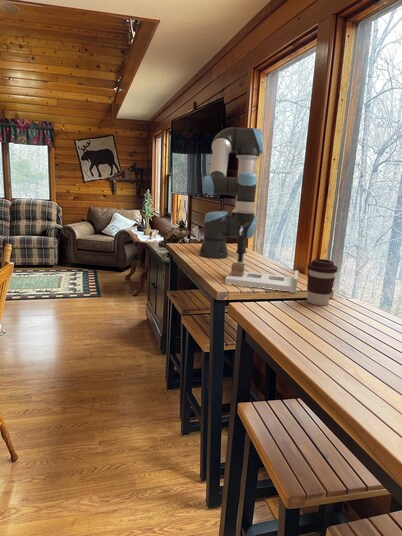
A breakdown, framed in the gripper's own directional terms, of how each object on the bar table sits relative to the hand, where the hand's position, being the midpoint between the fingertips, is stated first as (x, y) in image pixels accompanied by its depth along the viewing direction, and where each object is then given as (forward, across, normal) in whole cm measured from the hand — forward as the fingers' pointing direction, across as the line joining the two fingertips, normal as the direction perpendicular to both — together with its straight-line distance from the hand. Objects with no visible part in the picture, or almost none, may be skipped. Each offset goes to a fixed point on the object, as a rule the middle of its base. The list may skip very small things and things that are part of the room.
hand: (239, 268), depth 161 cm
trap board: (+4, +5, +9) cm, 11 cm away
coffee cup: (+4, +21, +31) cm, 38 cm away
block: (+2, +5, 0) cm, 5 cm away
